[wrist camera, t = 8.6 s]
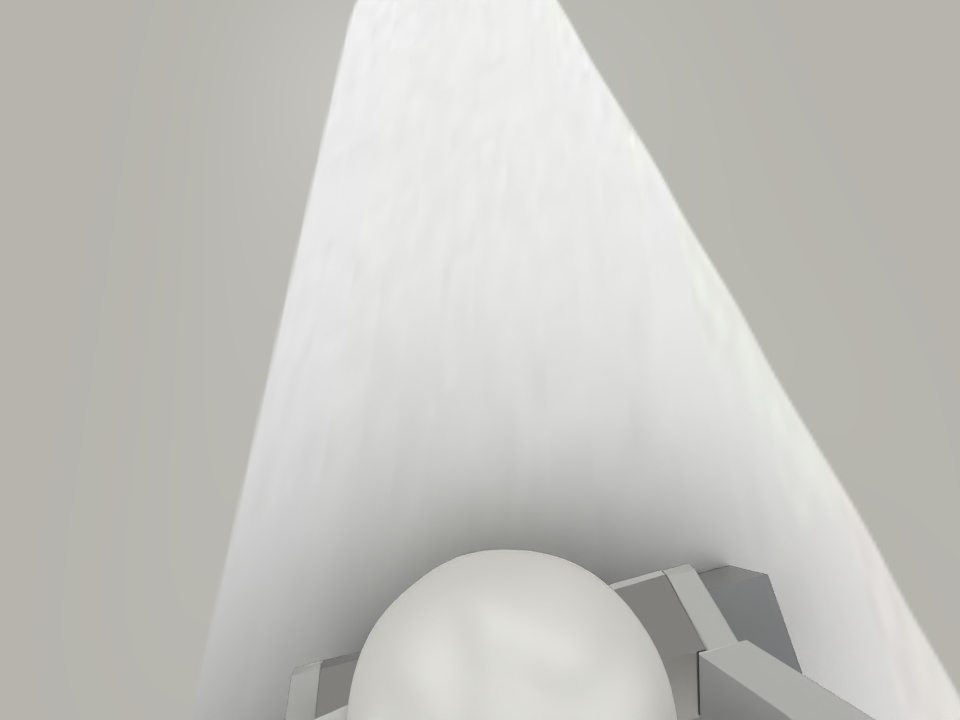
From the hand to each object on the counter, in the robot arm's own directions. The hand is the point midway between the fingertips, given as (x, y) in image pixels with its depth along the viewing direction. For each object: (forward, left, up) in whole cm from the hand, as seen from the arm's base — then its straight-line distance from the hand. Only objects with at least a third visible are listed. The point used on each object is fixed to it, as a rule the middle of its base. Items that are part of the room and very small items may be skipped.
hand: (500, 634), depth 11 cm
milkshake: (0, -1, -6) cm, 6 cm away
